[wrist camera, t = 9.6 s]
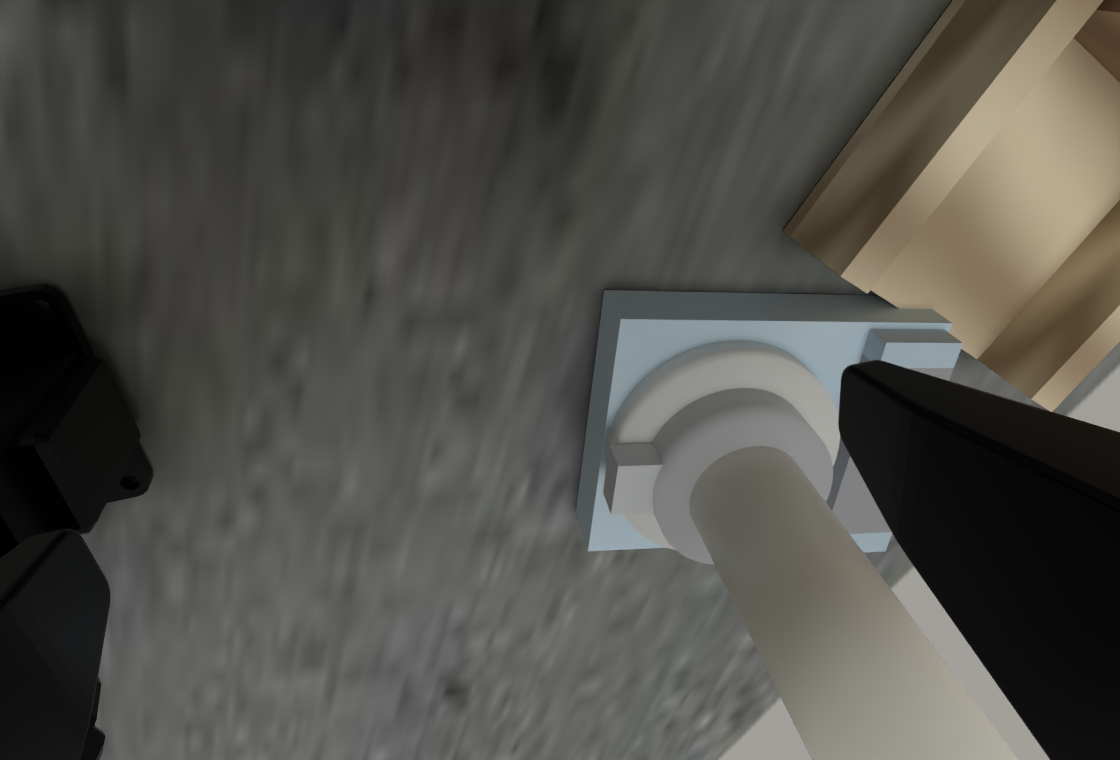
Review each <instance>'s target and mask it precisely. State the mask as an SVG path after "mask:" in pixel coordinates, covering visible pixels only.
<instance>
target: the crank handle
mask: <svg viewBox="0 0 1120 760" xmlns="http://www.w3.org/2000/svg"><path fill="white" fill-rule="evenodd" d="M832 480H833V464H832V460H831V456H830V453H829V451H828V449H827V446H826V445H825V443H824V442H823V441H822V439H821V438H820V437H819V435H818V434H817V433H816V432H815V431H814V429H813V428H812V427H811V426H810V425H809V423H808V422H807V421H806V420H805V419H804V417H803V416H802V415H801V414H800V413H799V411H798V410H797V409H796V408H795V407H794V406H793V405H792V404H791V403H790V402H788V401H787V400H785V399H784V398H782V397H781V396H779V395H777V394H775V393H772V392H768V391H765V390H760V389H755V388H735V389H728V390H723V391H719V392H715V393H712V394H709V395H707V396H704V397H702V398H700V399H698V400H696V401H694V402H692V403H690V404H689V405H687V406H685V407H684V408H683V409H681V410H680V411H678V412H677V413H676V414H675V415H674V416H673V417H671V418H670V419H669V420H668V421H667V422H666V423H665V424H664V426H663V427H662V428H661V429H660V430H659V432H658V433H657V435H656V436H655V437H654V439H653V441H652V443H651V444H633V445H609V453H608V460H607V467H606V474H605V481H604V488H603V494H604V497H605V499H606V502H607V505H608V508H609V510H610V513H611V515H612V514H636V513H654V515H655V517H656V520H657V522H658V524H659V526H660V529H661V531H662V533H663V535H664V537H665V538H666V540H667V541H668V543H669V544H670V545H671V546H672V547H673V548H674V549H675V550H677V551H678V552H679V553H680V554H682V555H684V556H686V557H687V558H689V559H692V560H695V561H697V562H701V563H705V564H711V565H715V566H716V568H717V570H718V572H719V574H720V576H721V578H722V580H723V582H724V584H725V586H726V588H727V590H728V592H729V594H730V596H731V598H732V600H733V602H734V604H735V606H736V608H737V610H738V612H739V614H740V616H741V618H742V620H743V622H744V624H745V626H746V628H747V630H748V632H749V634H750V636H751V638H752V640H753V642H754V644H755V646H756V648H757V650H758V652H759V654H760V656H761V658H762V660H763V662H764V664H765V666H766V668H767V670H768V672H769V674H770V676H771V678H772V680H773V682H774V684H775V686H776V688H777V690H778V692H779V694H780V696H781V698H782V700H783V702H784V704H785V706H786V708H787V710H788V712H789V714H790V716H791V718H792V720H793V723H794V725H795V726H796V728H797V730H798V732H799V735H800V736H801V739H802V740H803V743H804V744H805V746H806V748H807V750H808V753H809V755H810V757H811V759H812V760H1018V759H1017V757H1016V756H1015V755H1014V753H1013V752H1012V751H1011V749H1010V748H1009V747H1008V745H1007V744H1006V743H1005V741H1004V740H1003V739H1002V737H1001V736H1000V735H999V733H998V732H997V731H996V729H995V728H994V727H993V725H992V724H991V723H990V721H989V720H988V719H987V717H986V716H985V714H984V713H983V712H982V711H981V709H980V708H979V707H978V705H977V704H976V703H975V701H974V700H973V698H972V697H971V696H970V694H969V693H968V692H967V690H966V689H965V688H964V686H963V685H962V684H961V682H960V681H959V680H958V678H957V677H956V676H955V674H954V673H953V672H952V670H951V669H950V668H949V666H948V665H947V664H946V662H945V661H944V660H943V658H942V657H941V656H940V654H939V653H938V652H937V650H936V649H935V648H934V646H933V645H932V644H931V642H930V641H929V640H928V638H927V637H926V636H925V634H924V633H923V632H922V630H921V629H920V628H919V626H918V625H917V624H916V622H915V621H914V619H913V618H912V617H911V616H910V614H909V613H908V611H907V610H906V609H905V608H904V606H903V605H902V603H901V602H900V601H899V600H898V598H897V597H896V596H895V594H894V593H893V591H892V590H891V589H890V587H889V586H888V585H887V583H886V582H885V581H884V579H883V578H882V577H881V575H880V574H879V573H878V571H877V570H876V569H875V567H874V566H873V565H872V563H871V562H870V561H869V559H868V558H867V557H866V555H865V554H864V553H863V551H862V550H861V549H860V547H859V546H858V545H857V543H856V542H855V541H854V539H853V538H852V537H851V535H850V534H849V533H848V531H847V530H846V529H845V527H844V526H843V525H842V523H841V522H840V521H839V519H838V518H837V516H836V515H835V514H834V512H833V511H832V510H831V508H830V507H829V506H828V504H827V503H826V501H827V498H828V496H829V493H830V490H831V486H832Z"/></svg>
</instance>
